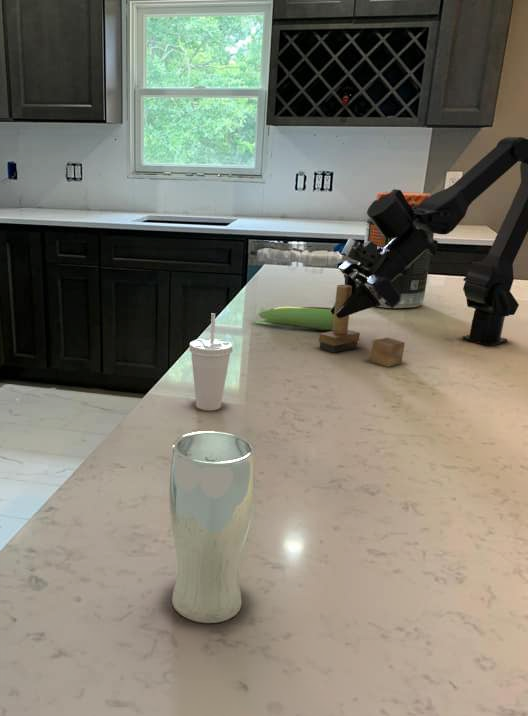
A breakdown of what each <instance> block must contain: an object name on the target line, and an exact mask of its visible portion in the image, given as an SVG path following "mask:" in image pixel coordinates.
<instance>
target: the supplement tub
mask: <svg viewBox="0 0 528 716" xmlns="http://www.w3.org/2000/svg"><path fill="white" fill-rule="evenodd" d="M390 192H391V191H379V192H377V194H376V198H375V200H378V199H379V198H381V197H382V196H384V195H386V194H389V193H390ZM402 193H403V194H404V197H405V199H406V201H407V202H408V203H409V205H410V206H411V208H412V207H417V206H418V205H419V204H420V203H421V202H422V201H424V200H425V199H427V198H429V197H430V196H432V195H433V194H432V193H426V192H413V191H402ZM413 224H414V225H415V226H416V224H415V223H413ZM416 228H417V229H418V227H417V226H416ZM425 233H426V234H427V235H428V237H429V238H430V239H434V234H435V233H431V232H426V231H425ZM364 234H365V235H364V242H363V244H364V243H365V242H366V241H371V242H373V243H375V244H376V245H378V247H383V248H384V247H385V246H386V245H387V244H388V243H389V242H391V241H392V240H393V239H394V238H392V237H391V238H385V237H383V235H382V234H381V232H380V231H379V230H378V228H377V227H376V226H375V224H374V223H373V222H372V220H371V219H370V218H369V216H368V215H367V218H366V225H365V233H364ZM431 256H432V255H430V254H428V253H426V252H424V253H422V254H421V255H420V256H419V257H418V258H417V259H416V260H415V261H414V262H413V263H412V264H411V265H410V266H408V267H407V268H406V269H405V270H406V271H407V272H408V273H407V274H406V275H405V276H401V275H399V276H398V277H397V278H396V279H394V280H393V281H392V284H393V285H394V286H395V287H396V289H397V290H398V291H399V292H400V294H401V299H400V302H399V303H398V304H397V305H396V306H395V307H394V308H393V309H403V308H404V309H405V308H407V309H409V308H416V307H419V306H420V305H422V304H423V303H424V300H425V295H426V288H427V283H428V276H429V269H430V263H431ZM379 302H380V304H381V305H380V306H377V308H385V309H391V308H390V307H388V306H386V304H385V302H386V301H385V300H384V299H383V298H382V299H381V300H380V301H379Z"/></svg>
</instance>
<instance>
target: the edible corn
mask: <svg viewBox="0 0 528 716" xmlns="http://www.w3.org/2000/svg"><path fill="white" fill-rule="evenodd" d="M331 308H332V307H323V306H322V307H321V306H279V307H274V308H271V309H269V310H264V311H261V312H260V313H258V316H259V317H260V318H261V319H262V320H255V321H253V322H254V323H257V324H262V325H263V324H264V325H273V326H287V327H294V328H295V327H296V328H304V329H310V330H317V331H325V332H330V331H333V321H334V315H333V314H332V313H331V311H330V310H331Z"/></svg>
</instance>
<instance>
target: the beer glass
mask: <svg viewBox="0 0 528 716" xmlns="http://www.w3.org/2000/svg"><path fill="white" fill-rule="evenodd" d="M255 452H256V447H255V445H254V443H253V442H252V441H250V440H249V439H247V438H246V437H244V436H241V435H239V434H235V433H230V432H225V431H217V430H216V431H215V430H206V431H203V430H202V431H195V432H191V433H187V434H184V435H181V436H180V437H178V438H177V439H175V441H174V442H173V445H172V458H171V465H170V475H169V493H168V494H169V514H170V521H171V522H170V523H171V528H172V535H173V540H174V546H175V552H176V558H177V573H176V579H175V584H174V587H173V592H172V597H171V602H172V606H173V609H174V610H175V611H176V612H177V613H178V614H179V615H180V616H182V617H183V618H185V619H187V620H189V621H192V622H196V623H201V624H218V623H222V622H226V621H229V620H230V619H232V618H233V617H235V616H236V615H238V613H239V612H240V610H241V608H242V593H241V585H240V565H241V561H242V555H243V552H244V548H245V544H246V541H247V537H248V534H249V530H250V527H251V521H252V518H253V517H252V516H253V512H254V505H255V504H254V502H255V489H256V467H255V466H256V465H255V464H256V462H255V459H256V458H255V456H256V455H255Z"/></svg>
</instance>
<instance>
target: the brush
mask: <svg viewBox="0 0 528 716" xmlns="http://www.w3.org/2000/svg"><path fill="white" fill-rule="evenodd" d="M351 293H352V286H350V285H345V284H338V285H336V291H335V299H334V300H335V301H334V303H335V311H334V321H333V331H324V332H320V333H319V335H318V336H319V337H318V342H319V343H320V344H319V349H320V350H323V351H326V352H330V353H338V352H339V353H340V352H343V351H348V350H352V349H353V350H354V349H357V348H358V342H359V341H360V334H361V332H359V331H354V330H350V329H349V322H350V321H349V320H350V315H348V316H345V317H342V318H338V317H337V316H336V313H337V312H338V310H339V309H340V308H341V307H342V305H343V304H344V303H345V302H346V301H347V300H348V298H349V297H350V296H351Z"/></svg>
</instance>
